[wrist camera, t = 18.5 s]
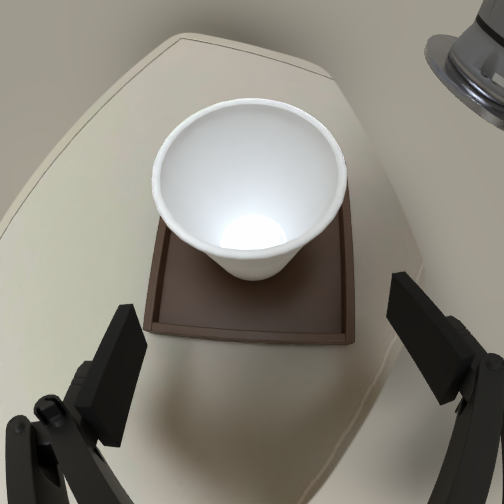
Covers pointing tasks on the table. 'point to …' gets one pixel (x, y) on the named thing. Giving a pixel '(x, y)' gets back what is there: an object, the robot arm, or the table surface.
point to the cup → (249, 183)
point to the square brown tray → (256, 292)
